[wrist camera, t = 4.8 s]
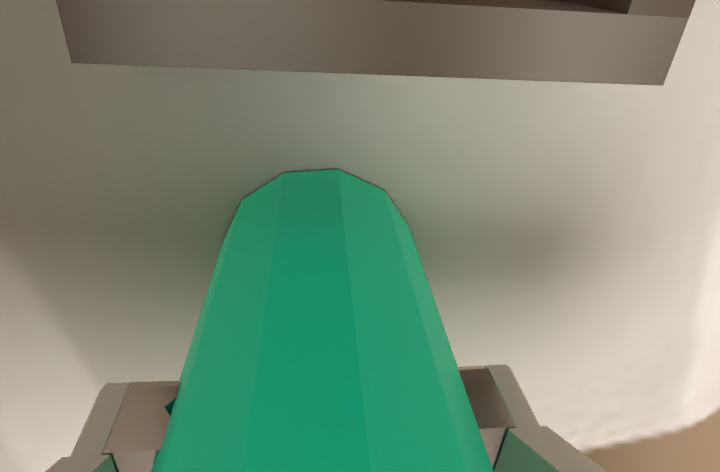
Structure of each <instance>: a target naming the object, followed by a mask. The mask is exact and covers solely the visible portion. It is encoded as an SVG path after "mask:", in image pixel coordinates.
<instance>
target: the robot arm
mask: <svg viewBox="0 0 720 472" xmlns="http://www.w3.org/2000/svg"><path fill="white" fill-rule="evenodd" d="M458 370H459V373H460V376H461V379H462V382H463V385H464V387H465V390H466V393H467V396H468V399H469V402H470V405H471V408H472V411H473V413H474V416H475V419H476V422H477V425H478V428H479V431H480V434H481V437H482V439H483V442H484V445H485V448H486V451H487V454H488V457H489V460H490V463H491V466H492V468H493V471H494V472H606V471H605V470H603V469H602V468H601V467H600V466H598V465H597V464H596V463H594V462H593V461H592V460H590V459H589V458H588V457H586V456H585V455H584V454H583V453H581V452H580V451H579V450H577V449H576V448H575V447H573V446H572V445H571V444H569V443H568V442H567V441H566V440H564V439H563V438H562V437H560V436H559V435H558V434H556V433H555V432H554V431H552V430H551V429H550V428H548V427H547V426H540V425H539V423H538V421H537V419H536V417H535V415H534V413H533V412H532V410H531V408H530V406H529V404H528V402H527V400H526V398H525V396H524V394H523V392H522V390H521V388H520V386H519V384H518V382H517V380H516V378H515V376H514V374H513V373H512V371H511V369H510V367H508V366H507V365H489V366H467V367H458ZM180 384H181V381H159V382H129V383H106V385H105V386H104V387H103V388H102V389H101V390H100V392H99V394H98V397H97V399H96V401H95V403H94V405H93V408H92V410H91V412H90V414H89V416H88V419H87V421H86V423H85V425H84V428H83V430H82V432H81V434H80V436H79V439H78V441H77V443H76V445H75V448H74V450H73V452H72V454H71V456H70V457H62V458H61V459H60V460H58V461H57V462H56V463H55V464H54V465H53V466H51V467H50V468H49V469H48V470H47V471H46V472H151V470H152V466H153V464H154V462H155V460H156V458H157V456H158V454H159V452H160V449H161V446H162V443H163V440H164V437H165V433H166V430H167V427H168V424H169V420H170V412H171V410H172V407H173V405H174V402H175V400H176V397H177V394H178V391H179V387H180Z"/></svg>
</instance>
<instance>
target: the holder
mask: <svg viewBox="0 0 720 472" xmlns="http://www.w3.org/2000/svg"><path fill="white" fill-rule="evenodd" d="M56 2H57V6H58V10H59V14H60V18H61V22H62V26H63V30H64V34H65V38H66V42H67V46H68V50H69V54H70V58H71V62H72V63H89V64H116V65H142V66H168V67H194V68H220V69H246V70H272V71H298V72H325V73H351V74H377V75H403V76H429V77H455V78H481V79H507V80H533V81H560V82H586V83H612V84H638V85H663V84H664V81H665V79H666V76H667V73H668V71H669V68H670V66H671V63H672V60H673V58H674V55H675V53H676V50H677V47H678V45H679V42H680V40H681V37H682V34H683V32H684V29H685V27H686V24H687V21H688V19H689V16H690V14H691V11H692V8H693V6H694V3H695V0H56Z"/></svg>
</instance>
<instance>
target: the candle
mask: <svg viewBox="0 0 720 472" xmlns="http://www.w3.org/2000/svg"><path fill="white" fill-rule="evenodd" d="M180 381H181V384H180V387H179V391H178V394H177V397H176V400H175V402H174V405H173V407H172V410H171V412H170V420H169V424H168V427H167V430H166V433H165V437H164V440H163V443H162V446H161V449H160V452H159V454H158V456H157V458H156V460H155V462H154V464H153V466H152V470H151V472H494V471H493V468H492V466H491V463H490V460H489V457H488V454H487V451H486V448H485V445H484V442H483V439H482V437H481V434H480V431H479V428H478V425H477V422H476V419H475V416H474V413H473V411H472V408H471V405H470V402H469V399H468V396H467V393H466V390H465V387H464V385H463V382H462V379H461V376H460V373H459V370H458V367H457V364H456V361H455V359H454V356H453V353H452V350H451V347H450V344H449V341H448V338H447V335H446V333H445V330H444V327H443V324H442V321H441V318H440V315H439V312H438V309H437V306H436V304H435V301H434V298H433V295H432V292H431V289H430V286H429V283H428V280H427V278H426V275H425V272H424V269H423V266H422V263H421V260H420V257H419V254H418V252H417V249H416V246H415V243H414V240H413V237H412V234H411V231H410V228H409V226H408V225H407V223H406V222H405V220H404V219H403V217H402V216H401V214H400V213H399V211H398V210H397V208H396V207H395V205H394V204H393V202H392V201H391V200H390V198H389V197H388V195H387V194H386V192H385V191H384V190H383V189H381V188H378V187H376V186H374V185H372V184H370V183H367V182H365V181H363V180H361V179H359V178H356V177H354V176H352V175H350V174H348V173H345V172H343V171H341V170H339V169H332V170H317V171H302V172H287V173H283V174H281V175H280V176H278V177H277V178H275V179H274V180H272V181H270V182H269V183H267V184H266V185H264V186H263V187H261V188H260V189H258V190H256V191H255V192H253V193H252V194H250V195H249V196H247V197H246V198H244V199H242V200H241V202H240V205H239V207H238V209H237V211H236V214H235V216H234V218H233V221H232V223H231V225H230V227H229V230H228V232H227V234H226V236H225V239H224V241H223V244H222V247H221V250H220V254H219V257H218V260H217V263H216V266H215V269H214V273H213V276H212V279H211V282H210V285H209V289H208V292H207V295H206V298H205V301H204V304H203V308H202V311H201V314H200V317H199V320H198V323H197V327H196V330H195V333H194V336H193V339H192V343H191V346H190V349H189V352H188V355H187V358H186V362H185V365H184V368H183V371H182V374H181V377H180Z"/></svg>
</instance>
